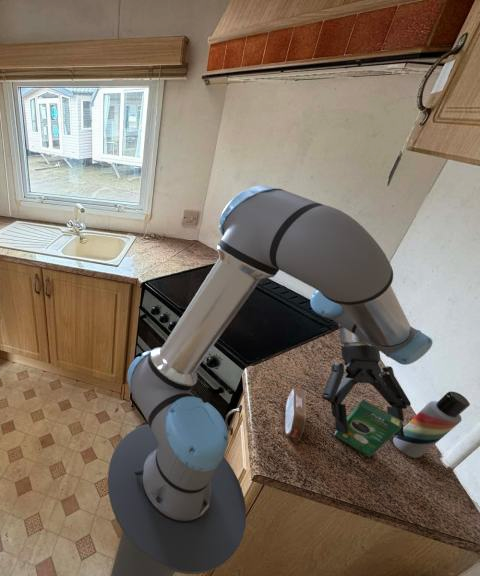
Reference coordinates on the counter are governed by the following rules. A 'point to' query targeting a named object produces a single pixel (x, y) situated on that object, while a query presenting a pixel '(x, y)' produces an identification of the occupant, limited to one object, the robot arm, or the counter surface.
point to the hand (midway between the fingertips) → (369, 434)
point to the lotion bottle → (431, 424)
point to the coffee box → (369, 428)
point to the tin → (295, 414)
